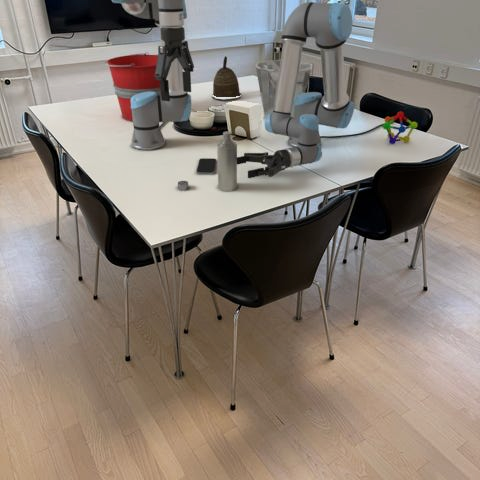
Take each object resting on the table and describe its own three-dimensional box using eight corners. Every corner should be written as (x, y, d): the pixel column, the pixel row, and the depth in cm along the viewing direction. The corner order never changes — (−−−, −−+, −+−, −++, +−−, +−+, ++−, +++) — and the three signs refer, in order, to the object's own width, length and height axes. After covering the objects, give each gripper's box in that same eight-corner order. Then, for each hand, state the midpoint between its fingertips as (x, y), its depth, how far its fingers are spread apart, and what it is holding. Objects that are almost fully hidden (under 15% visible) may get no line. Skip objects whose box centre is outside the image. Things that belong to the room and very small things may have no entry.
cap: (190, 187, 168) (190, 182, 167) (184, 191, 165) (184, 185, 164) (182, 185, 170) (181, 179, 168) (176, 188, 167) (175, 183, 166)
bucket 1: (121, 106, 263) (114, 51, 247) (180, 106, 262) (176, 52, 246) (104, 123, 233) (95, 63, 217) (170, 124, 232) (166, 64, 216)
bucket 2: (281, 130, 226) (284, 73, 211) (242, 117, 244) (243, 64, 230) (319, 119, 242) (324, 65, 228) (280, 107, 261) (283, 57, 246)
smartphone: (196, 172, 178) (199, 158, 191) (196, 173, 178) (199, 159, 191) (214, 172, 178) (216, 158, 191) (214, 174, 178) (216, 159, 191)
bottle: (239, 189, 167) (240, 134, 155) (222, 192, 164) (221, 136, 153) (232, 182, 172) (232, 128, 161) (215, 185, 170) (214, 130, 158)
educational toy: (377, 146, 209) (379, 114, 202) (384, 138, 219) (386, 107, 211) (411, 149, 202) (415, 116, 195) (417, 141, 212) (420, 109, 204)
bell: (227, 105, 294) (202, 96, 282) (238, 66, 289) (213, 55, 277) (243, 108, 280) (217, 98, 268) (255, 66, 275) (229, 55, 263)
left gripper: (159, 31, 127) (165, 106, 138) (202, 23, 146) (204, 89, 158) (138, 30, 130) (145, 103, 141) (182, 22, 149) (186, 87, 160)
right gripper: (303, 178, 168) (255, 189, 160) (269, 157, 187) (224, 166, 178) (305, 160, 164) (256, 170, 156) (270, 139, 183) (224, 148, 174)
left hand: (176, 96), depth 149 cm, fingers open, 13 cm apart
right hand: (239, 168), depth 167 cm, fingers open, 13 cm apart
